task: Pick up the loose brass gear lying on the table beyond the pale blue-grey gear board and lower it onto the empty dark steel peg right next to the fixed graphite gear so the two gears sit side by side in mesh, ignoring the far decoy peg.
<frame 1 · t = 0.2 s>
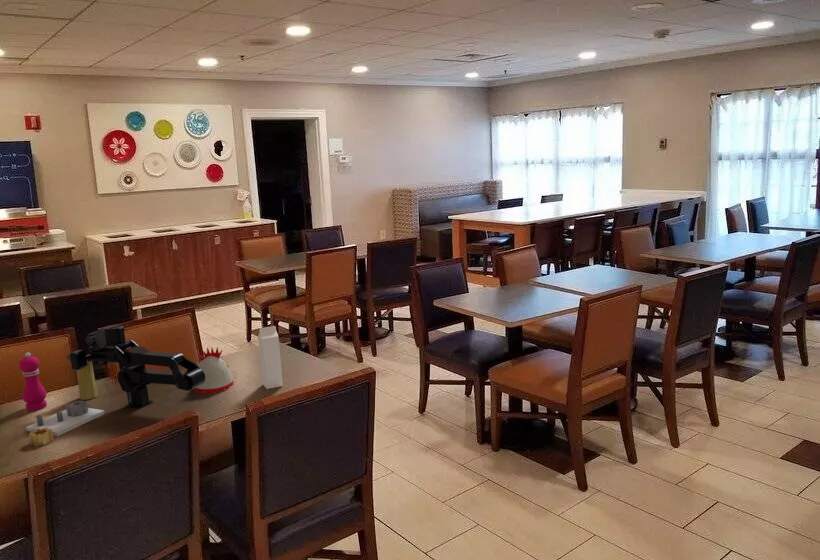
hand: (77, 352, 228), 17 cm above the table, tool horizontal, fingers open, 9 cm apart
milk: (272, 385, 234), on the table
vase: (88, 397, 231), on the table
gear: (42, 441, 195), on the table
pepper mill: (36, 408, 223), on the table
gear board: (66, 421, 209), on the table
kitchen timer: (214, 387, 236), on the table
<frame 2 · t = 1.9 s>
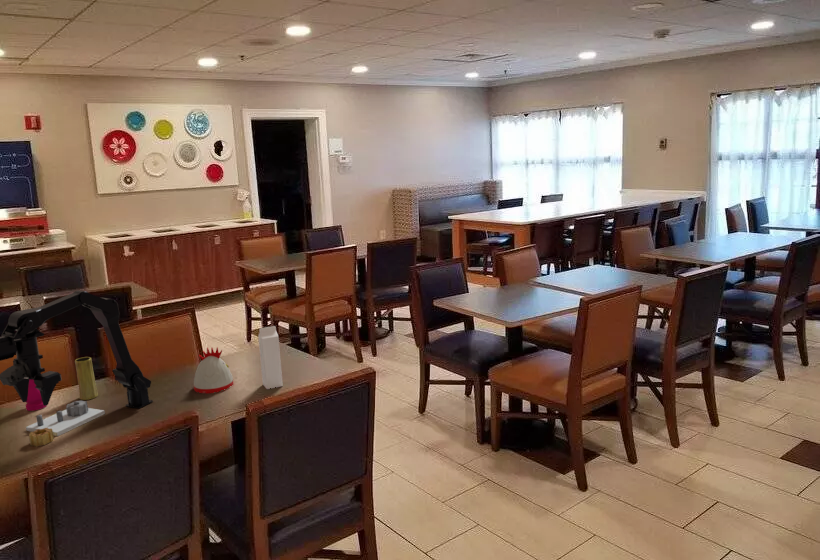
hand: (35, 403, 193), 12 cm above the table, tool pointing down, fingers open, 9 cm apart
nothing on the table moved.
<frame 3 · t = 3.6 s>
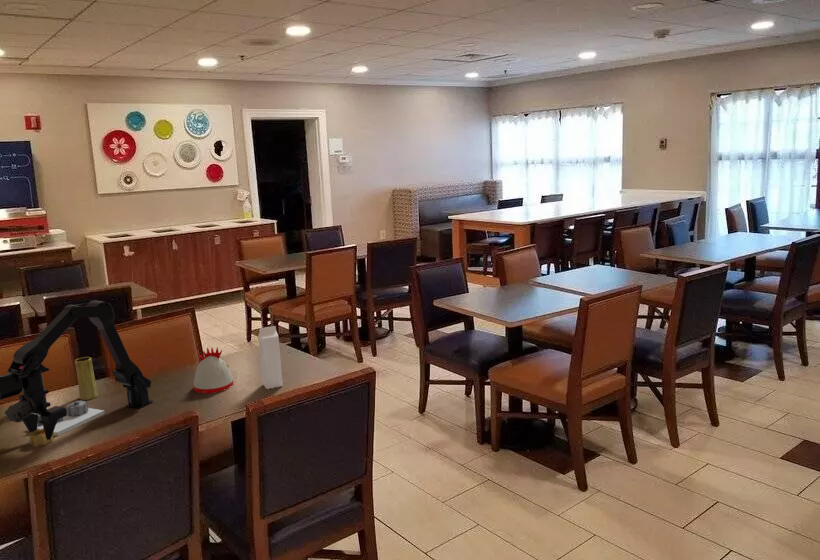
hand: (41, 437, 195), 1 cm above the table, tool pointing down, fingers closed on gear, 6 cm apart
gear: (42, 441, 195), on the table, touching gripper
everything else where it was.
when the fingers open (4 cm above the table, at t = 7.2 s): gear drops 1 cm, resting on gear board.
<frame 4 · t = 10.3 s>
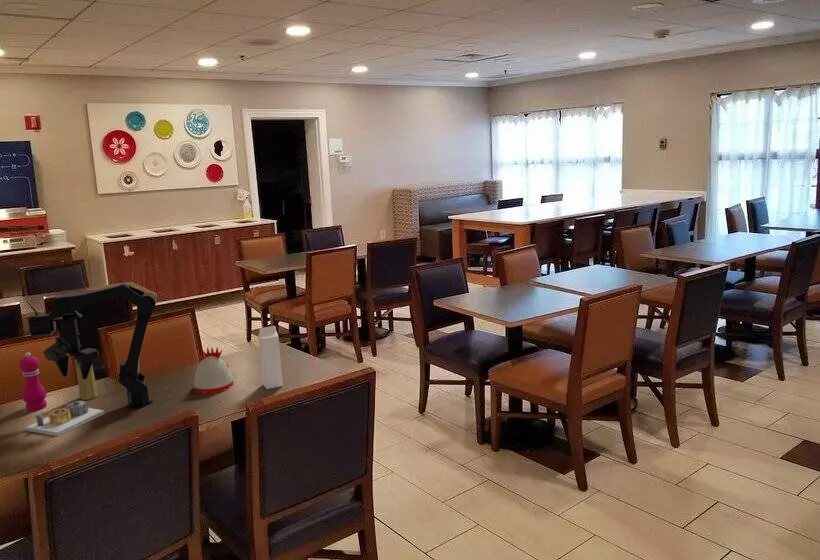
hand: (75, 377, 214), 13 cm above the table, tool pointing down, fingers open, 9 cm apart
gear: (60, 421, 207), point 1 cm above the table, touching gear board
everything else where it was.
at the end: gear 0.0 cm from the target spot on the gear board, point 1.2 cm above the gear board's base; gear tilted 0°; the gripper is holding nothing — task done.
